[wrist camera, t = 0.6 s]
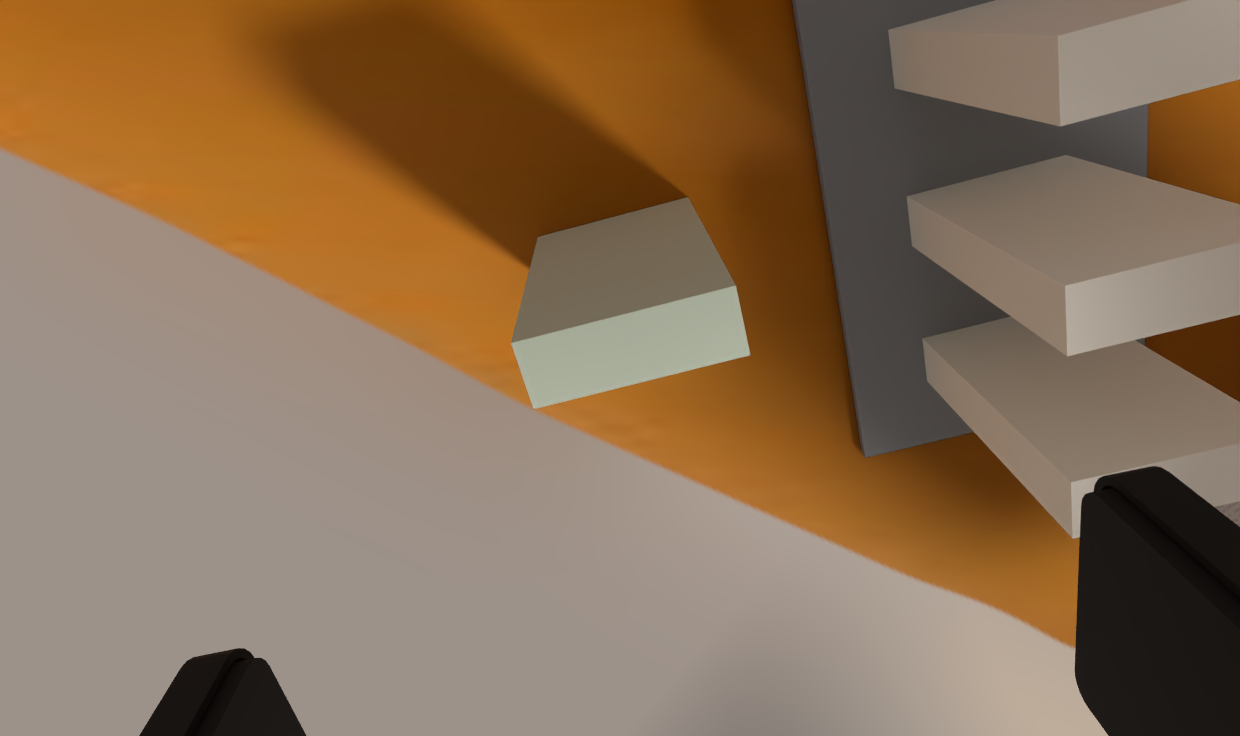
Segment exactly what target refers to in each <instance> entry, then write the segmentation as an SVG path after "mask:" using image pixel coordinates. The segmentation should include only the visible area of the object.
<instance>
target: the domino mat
mask: <svg viewBox="0 0 1240 736" xmlns="http://www.w3.org/2000/svg"><path fill="white" fill-rule="evenodd" d="M991 1H994V0H792V4H793V10H794V17H795V23H796V30H797V36H798V43H799V49H800V55H801V62H802V68H803V75H804V81H805V88H806V94H807V101H808V107H809V114H810V120H811V127H812V133H813V140H814V146H815V152H816V159H817V165H818V172H819V178H820V185H821V191H822V198H823V204H824V211H825V217H826V224H827V230H828V237H829V243H830V249H831V256H832V262H833V269H834V275H835V282H836V288H837V295H838V301H839V308H840V314H841V321H842V327H843V333H844V340H845V346H846V353H847V359H848V366H849V372H850V379H851V385H852V392H853V398H854V405H855V411H856V418H857V424H858V430H859V437H860V443H861V450H862V453H863V455H864V456H865V458H867V457H871V456H875V455H879V454H884V453H888V452H892V451H896V450H900V449H905V448H909V447H913V446H917V445H922V444H926V443H930V442H934V441H938V440H943V439H947V438H951V437H955V436H960V435H964V434H968V433H972V432H974V431H973V430H972V429H971V428H970V427H969V426H968V425H967V424H966V423H965V422H964V421H963V420H962V418H961V417H960V416H959V415H958V414H957V413H956V412H955V411H954V410H953V409H952V408H951V407H950V405H949V404H948V403H947V402H946V401H945V400H944V399H943V398H942V397H941V396H940V395H939V394H938V392H937V391H936V390H935V389H934V388H933V387H932V386H931V385H930V384H929V383H928V382H927V376H926V367H925V358H924V349H923V340H922V338H926V337H930V336H934V335H938V334H942V333H946V332H950V331H954V330H958V329H962V328H966V327H970V326H975V325H979V324H983V323H987V322H991V321H995V320H999V319H1003V318H1007V317H1011V316H1010V315H1008V314H1007V313H1005V312H1004V311H1003V310H1001V309H1000V308H998V307H997V306H996V305H994V304H993V303H991V302H990V301H989V300H987V299H986V298H984V297H983V296H982V295H980V294H979V293H977V292H976V291H974V290H973V289H972V288H970V287H969V286H967V285H966V284H965V283H963V282H962V281H960V280H959V279H958V278H956V277H955V276H953V275H952V274H951V273H949V272H948V271H946V270H945V269H944V268H942V267H941V266H939V265H938V264H936V263H935V262H934V261H932V260H931V259H929V258H928V257H927V256H925V255H924V254H922V253H921V252H920V251H918V250H917V249H915V248H914V247H913V246H912V241H911V232H910V223H909V214H908V205H907V196H910V195H914V194H918V193H922V192H925V191H929V190H933V189H937V188H941V187H945V186H948V185H952V184H956V183H960V182H964V181H968V180H972V179H975V178H979V177H983V176H987V175H991V174H995V173H998V172H1002V171H1006V170H1010V169H1014V168H1018V167H1022V166H1025V165H1029V164H1033V163H1037V162H1041V161H1045V160H1048V159H1052V158H1056V157H1060V156H1064V155H1068V156H1072V157H1075V158H1079V159H1082V160H1086V161H1089V162H1093V163H1096V164H1100V165H1103V166H1107V167H1110V168H1114V169H1117V170H1121V171H1124V172H1128V173H1131V174H1135V175H1138V176H1142V177H1145V178H1147V158H1148V104H1144V105H1140V106H1136V107H1133V108H1129V109H1125V110H1121V111H1117V112H1114V113H1110V114H1106V115H1102V116H1098V117H1095V118H1091V119H1087V120H1083V121H1079V122H1076V123H1072V124H1068V125H1064V126H1056V125H1052V124H1047V123H1043V122H1038V121H1034V120H1030V119H1025V118H1021V117H1017V116H1012V115H1008V114H1004V113H999V112H995V111H991V110H986V109H982V108H977V107H973V106H969V105H964V104H960V103H956V102H951V101H947V100H943V99H938V98H934V97H929V96H925V95H921V94H916V93H912V92H908V91H903V90H899V89H895V87H894V78H893V69H892V60H891V51H890V42H889V33H888V30H889V29H893V28H897V27H900V26H904V25H908V24H911V23H915V22H918V21H922V20H926V19H929V18H933V17H936V16H940V15H944V14H947V13H951V12H955V11H958V10H962V9H965V8H969V7H973V6H976V5H980V4H984V3H987V2H991ZM1135 341H1137V342H1139V343H1141V344H1142V345H1144V346H1145V338H1141V339H1137V340H1135Z"/></svg>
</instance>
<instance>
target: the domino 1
mask: <svg viewBox="0 0 1240 736" xmlns="http://www.w3.org/2000/svg"><path fill="white" fill-rule="evenodd" d="M511 344H512V347H513V350H514V353H515V356H516V359H517V362H518V365H519V368H520V371H521V374H522V377H523V379H524V382H525V385H526V388H527V391H528V394H529V397H530V400H531V403H532V406H533V409H536V408H540V407H544V406H548V405H552V404H556V403H560V402H564V401H568V400H572V399H576V398H580V397H584V396H588V395H592V394H596V393H600V392H604V391H608V390H612V389H616V388H620V387H625V386H629V385H633V384H637V383H641V382H645V381H649V380H653V379H657V378H661V377H665V376H669V375H673V374H677V373H681V372H685V371H689V370H693V369H697V368H701V367H705V366H709V365H713V364H717V363H721V362H725V361H729V360H733V359H737V358H741V357H745V356H749V355H750V351H749V346H748V341H747V336H746V332H745V327H744V322H743V317H742V313H741V308H740V303H739V298H738V293H737V289H736V285H735V283H734V281H733V279H732V277H731V276H730V274H729V272H728V270H727V268H726V266H725V264H724V263H723V261H722V259H721V257H720V255H719V253H718V252H717V250H716V248H715V246H714V244H713V242H712V240H711V239H710V237H709V235H708V233H707V231H706V229H705V227H704V226H703V224H702V222H701V220H700V218H699V216H698V214H697V213H696V211H695V209H694V207H693V205H692V203H691V201H690V200H689V198H688V197H686V198H682V199H679V200H675V201H671V202H667V203H664V204H660V205H656V206H652V207H649V208H645V209H641V210H637V211H634V212H630V213H626V214H622V215H619V216H615V217H611V218H607V219H603V220H600V221H596V222H592V223H588V224H585V225H581V226H577V227H573V228H570V229H566V230H562V231H558V232H555V233H551V234H547V235H543V236H539V237H538V238H537V242H536V246H535V250H534V254H533V258H532V262H531V266H530V270H529V274H528V278H527V282H526V286H525V290H524V294H523V298H522V302H521V306H520V310H519V313H518V317H517V321H516V325H515V329H514V333H513V337H512V341H511Z"/></svg>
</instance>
